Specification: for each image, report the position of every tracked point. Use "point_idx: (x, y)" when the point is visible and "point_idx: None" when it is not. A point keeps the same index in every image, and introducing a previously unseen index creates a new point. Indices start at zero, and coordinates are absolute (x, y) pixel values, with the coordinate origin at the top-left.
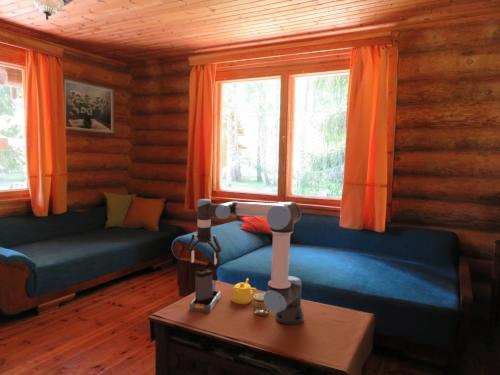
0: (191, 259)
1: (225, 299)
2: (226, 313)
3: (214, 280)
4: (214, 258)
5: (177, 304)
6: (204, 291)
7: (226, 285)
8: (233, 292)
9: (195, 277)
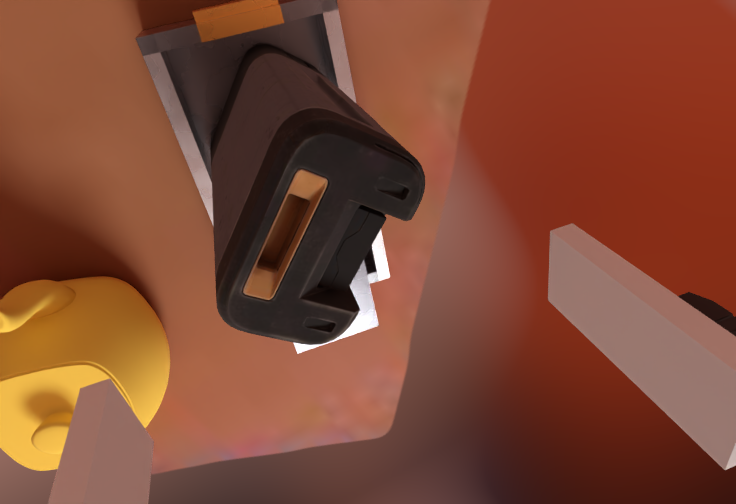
0: (615, 254)
1: (199, 287)
2: (6, 87)
3: (306, 349)
4: (77, 499)
5: (460, 49)
6: (242, 110)
7: (320, 428)
8: (98, 324)
9: (391, 136)
